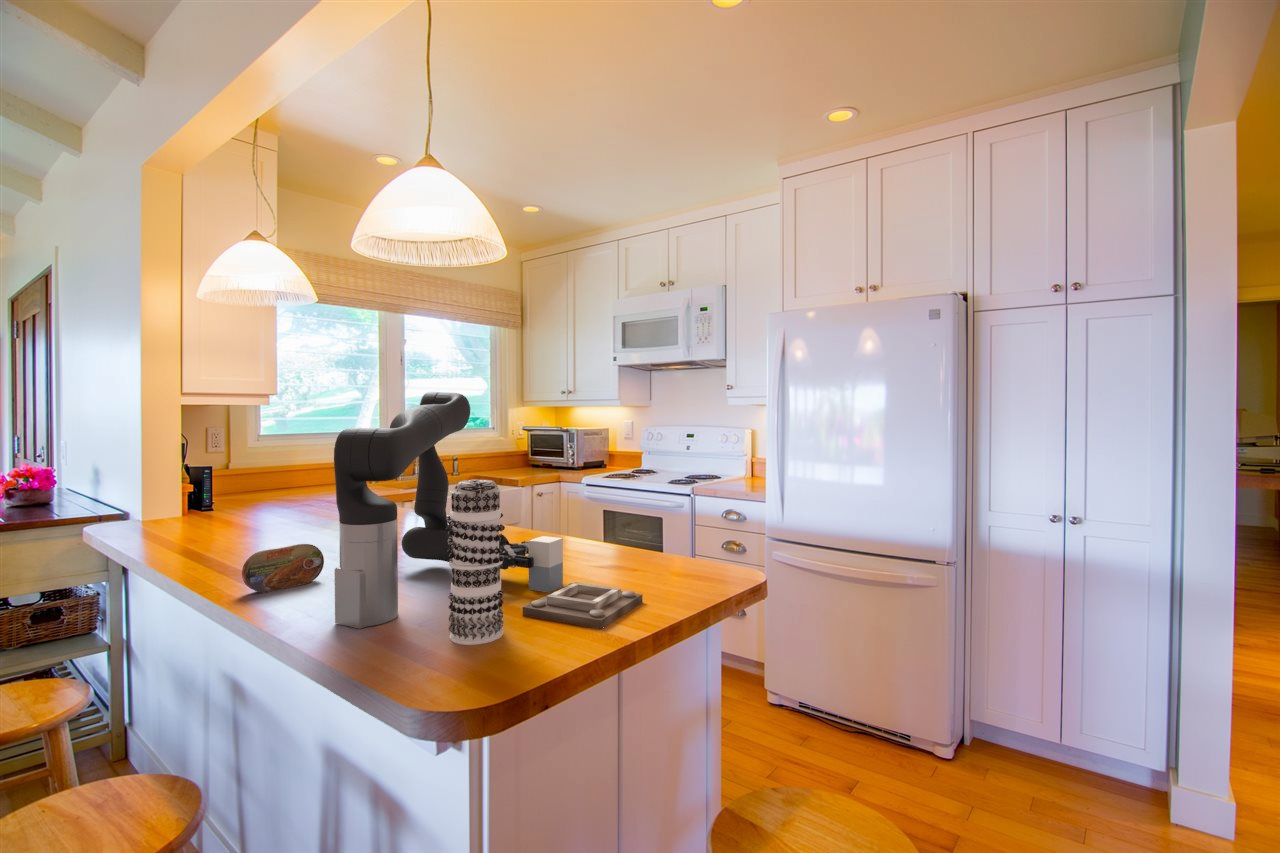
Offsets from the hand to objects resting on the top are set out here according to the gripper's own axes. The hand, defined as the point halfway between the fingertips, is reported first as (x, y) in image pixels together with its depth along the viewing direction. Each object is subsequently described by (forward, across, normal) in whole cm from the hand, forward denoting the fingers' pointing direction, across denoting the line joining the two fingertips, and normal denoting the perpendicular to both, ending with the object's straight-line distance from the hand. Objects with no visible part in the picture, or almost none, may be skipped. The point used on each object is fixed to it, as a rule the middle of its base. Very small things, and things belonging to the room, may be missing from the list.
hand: (544, 558), depth 124 cm
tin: (-49, -23, +6) cm, 54 cm away
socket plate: (+14, -8, +6) cm, 17 cm away
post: (0, 0, +6) cm, 6 cm away
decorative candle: (+5, -27, +6) cm, 28 cm away
